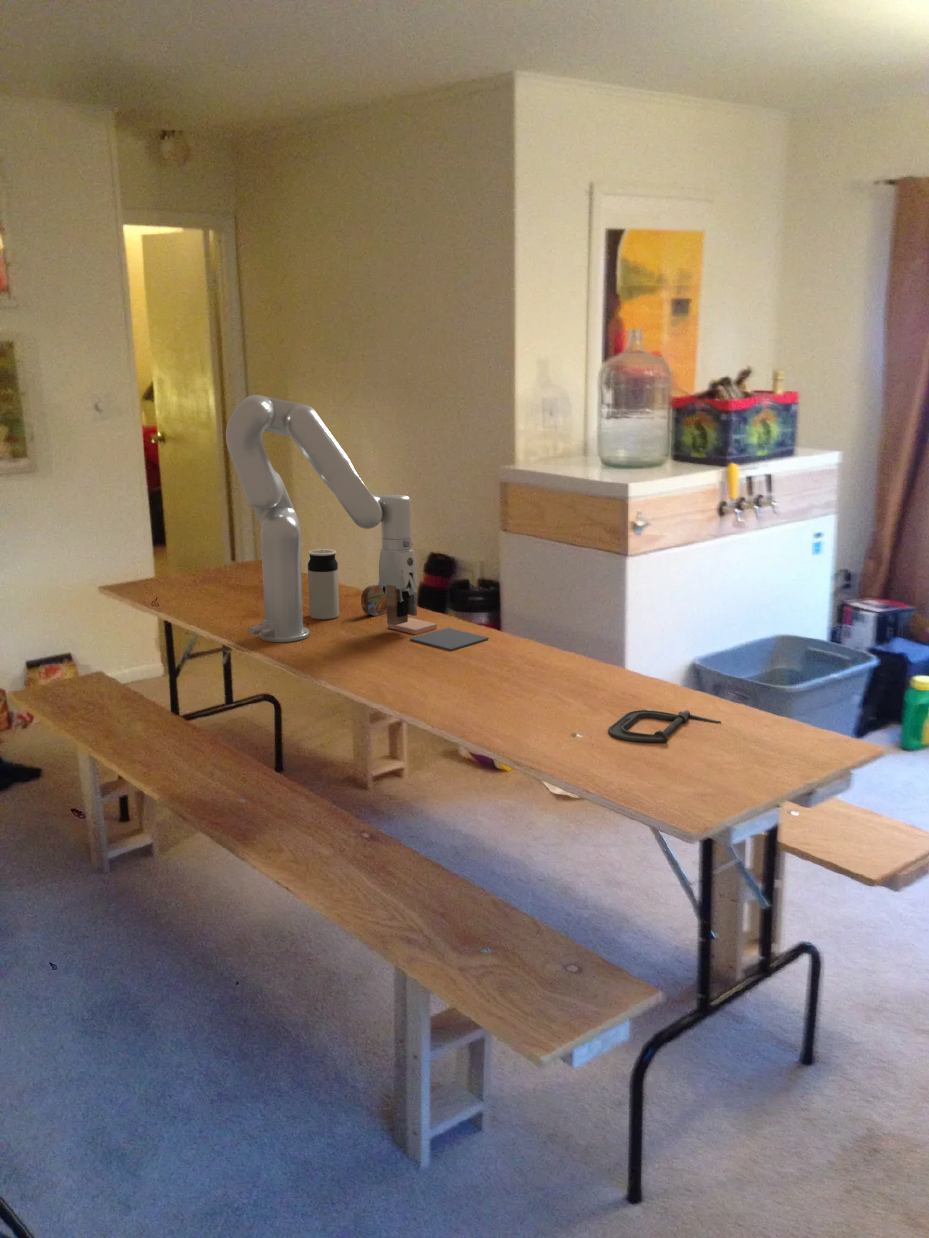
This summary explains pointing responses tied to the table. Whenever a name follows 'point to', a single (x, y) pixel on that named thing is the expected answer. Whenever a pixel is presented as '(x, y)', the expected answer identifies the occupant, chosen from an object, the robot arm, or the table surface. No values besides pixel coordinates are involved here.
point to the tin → (374, 601)
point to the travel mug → (323, 584)
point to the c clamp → (632, 717)
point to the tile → (414, 626)
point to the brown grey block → (393, 608)
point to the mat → (449, 639)
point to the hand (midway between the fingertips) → (397, 613)
